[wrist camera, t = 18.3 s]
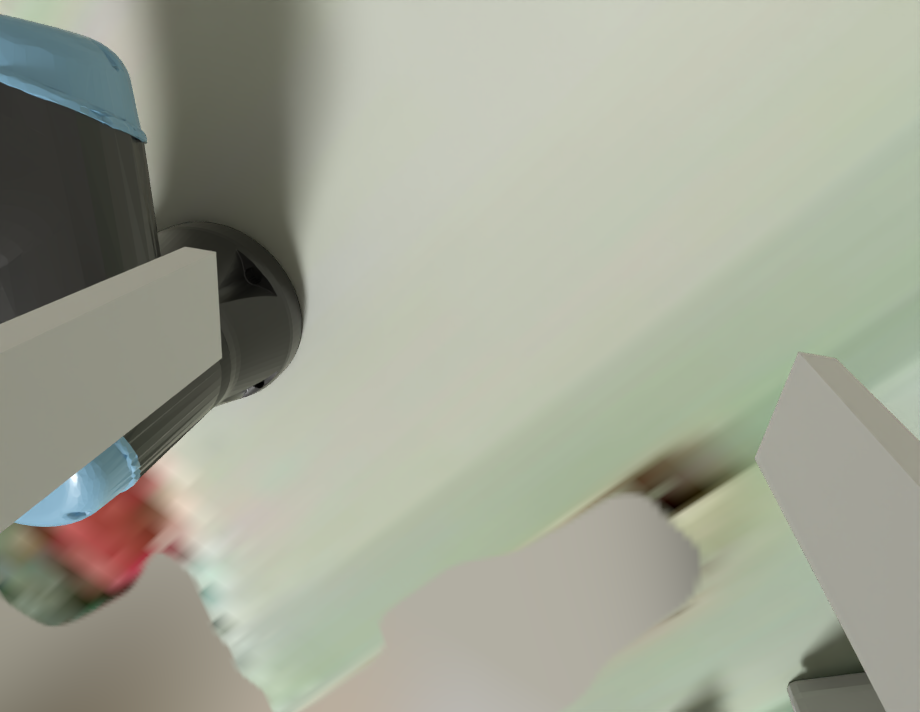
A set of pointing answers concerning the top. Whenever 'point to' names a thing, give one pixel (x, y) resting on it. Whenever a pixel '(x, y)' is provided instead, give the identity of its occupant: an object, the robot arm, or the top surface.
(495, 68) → the top surface
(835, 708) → the laptop
